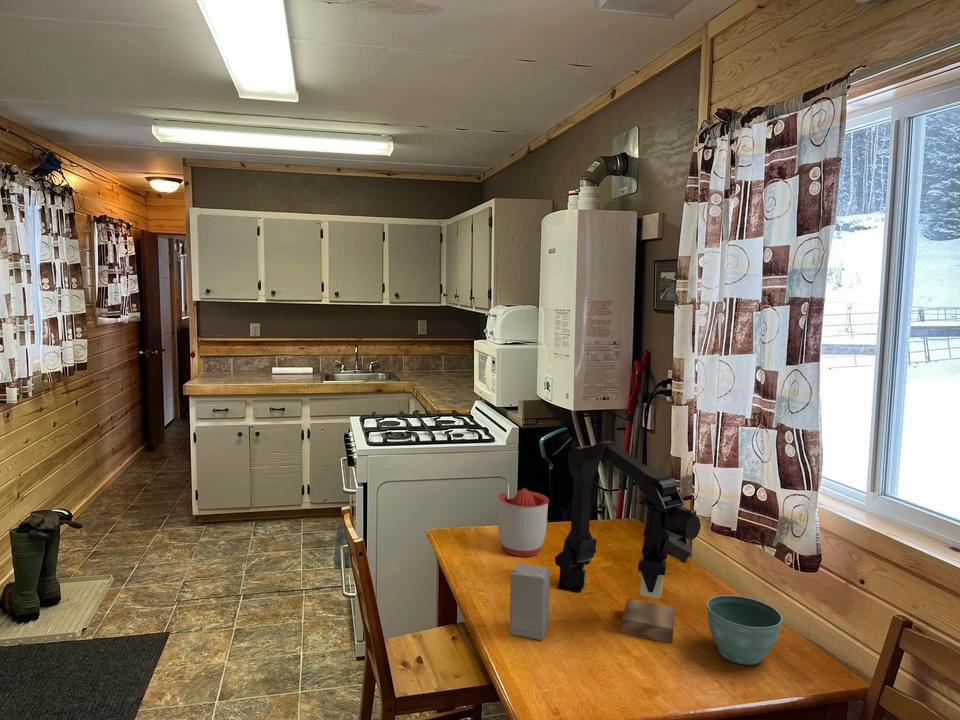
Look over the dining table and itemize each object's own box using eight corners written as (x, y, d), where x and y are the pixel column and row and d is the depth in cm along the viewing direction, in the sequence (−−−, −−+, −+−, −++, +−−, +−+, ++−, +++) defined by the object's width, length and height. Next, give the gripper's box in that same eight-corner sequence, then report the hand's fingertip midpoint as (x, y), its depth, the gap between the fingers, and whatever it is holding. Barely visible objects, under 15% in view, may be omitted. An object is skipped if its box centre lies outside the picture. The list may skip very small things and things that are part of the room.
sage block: (639, 594, 167) (641, 571, 166) (641, 586, 172) (643, 563, 171) (660, 598, 165) (662, 574, 165) (661, 590, 170) (664, 567, 169)
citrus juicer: (522, 536, 226) (526, 477, 224) (555, 555, 212) (560, 492, 210) (483, 543, 218) (486, 482, 216) (514, 563, 204) (518, 498, 201)
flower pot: (688, 645, 161) (692, 601, 160) (735, 631, 169) (739, 589, 168) (744, 681, 147) (749, 633, 146) (793, 664, 155) (798, 619, 154)
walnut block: (620, 634, 165) (622, 618, 165) (625, 613, 177) (627, 598, 176) (672, 645, 162) (673, 629, 161) (674, 622, 173) (675, 607, 173)
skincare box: (548, 629, 165) (552, 566, 163) (541, 643, 158) (545, 577, 157) (514, 622, 168) (518, 559, 166) (506, 635, 161) (510, 570, 159)
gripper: (690, 545, 155) (684, 610, 157) (691, 519, 173) (686, 579, 175) (640, 536, 159) (635, 601, 160) (646, 513, 176) (641, 571, 178)
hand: (651, 587), depth 168 cm, fingers closed on sage block, 5 cm apart
